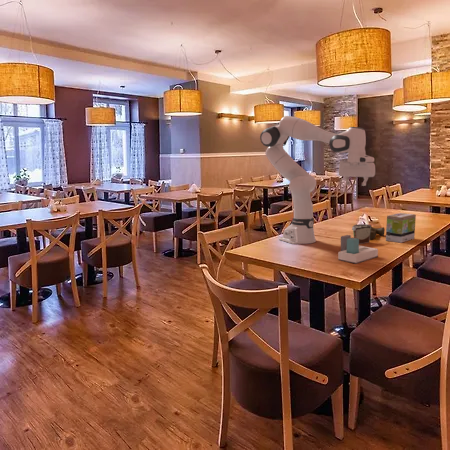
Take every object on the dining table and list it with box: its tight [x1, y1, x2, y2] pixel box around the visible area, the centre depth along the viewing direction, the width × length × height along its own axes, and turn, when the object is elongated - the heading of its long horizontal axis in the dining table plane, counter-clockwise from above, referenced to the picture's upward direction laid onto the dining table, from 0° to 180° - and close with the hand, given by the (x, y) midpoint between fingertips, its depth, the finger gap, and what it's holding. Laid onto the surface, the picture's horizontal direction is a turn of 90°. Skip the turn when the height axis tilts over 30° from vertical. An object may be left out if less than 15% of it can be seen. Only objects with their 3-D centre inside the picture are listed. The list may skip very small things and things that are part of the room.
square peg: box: [347, 237, 360, 254], centre depth 200 cm, size 4×4×10 cm
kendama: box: [369, 226, 386, 241], centre depth 251 cm, size 6×10×20 cm
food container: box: [351, 223, 372, 245], centre depth 237 cm, size 12×6×10 cm, turn 117°
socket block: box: [337, 245, 379, 265], centre depth 204 cm, size 10×18×4 cm, turn 128°
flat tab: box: [340, 234, 352, 251], centre depth 215 cm, size 2×6×9 cm, turn 128°
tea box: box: [385, 212, 417, 244], centre depth 239 cm, size 15×10×15 cm, turn 129°
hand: (356, 185), depth 218 cm, fingers open, 8 cm apart
